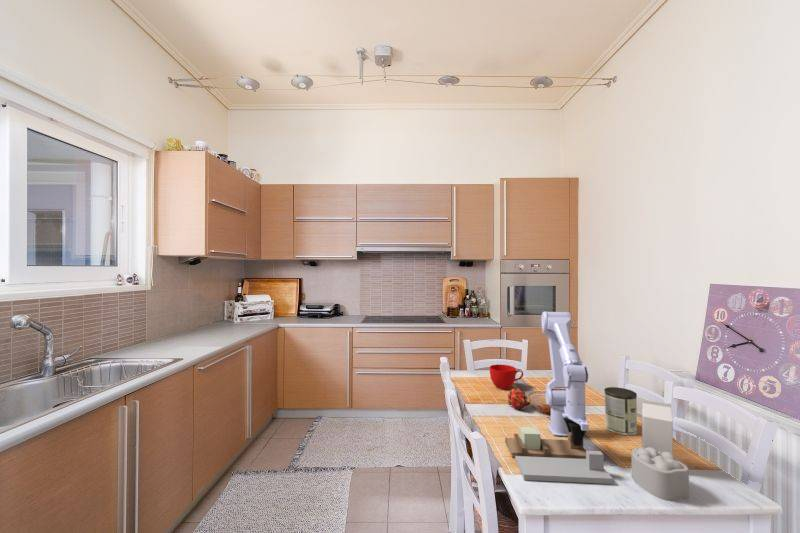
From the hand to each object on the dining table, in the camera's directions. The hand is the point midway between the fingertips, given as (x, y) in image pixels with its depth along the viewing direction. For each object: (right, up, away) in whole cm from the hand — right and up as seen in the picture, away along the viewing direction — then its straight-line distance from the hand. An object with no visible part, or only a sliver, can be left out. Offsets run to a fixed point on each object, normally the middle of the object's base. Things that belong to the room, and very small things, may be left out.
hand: (575, 443), depth 113 cm
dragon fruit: (-6, -4, +38) cm, 38 cm away
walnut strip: (-9, -3, +1) cm, 10 cm away
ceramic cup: (-3, -4, +64) cm, 65 cm away
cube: (-14, -1, +1) cm, 15 cm away
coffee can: (+25, -4, +17) cm, 31 cm away
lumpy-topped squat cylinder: (+14, -3, -17) cm, 22 cm away
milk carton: (+22, -3, -7) cm, 23 cm away
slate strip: (-10, -3, -11) cm, 15 cm away
